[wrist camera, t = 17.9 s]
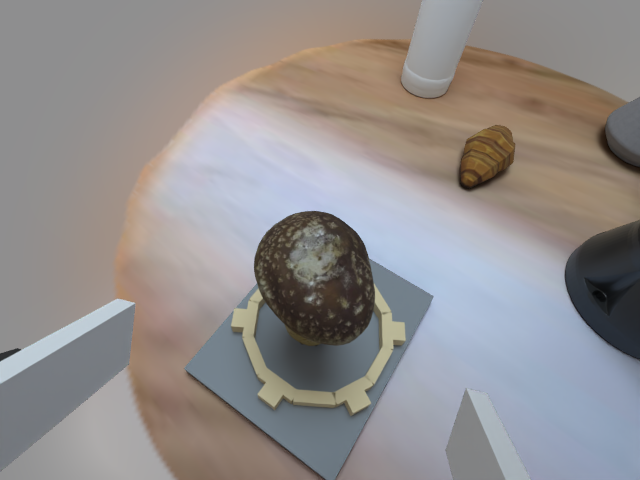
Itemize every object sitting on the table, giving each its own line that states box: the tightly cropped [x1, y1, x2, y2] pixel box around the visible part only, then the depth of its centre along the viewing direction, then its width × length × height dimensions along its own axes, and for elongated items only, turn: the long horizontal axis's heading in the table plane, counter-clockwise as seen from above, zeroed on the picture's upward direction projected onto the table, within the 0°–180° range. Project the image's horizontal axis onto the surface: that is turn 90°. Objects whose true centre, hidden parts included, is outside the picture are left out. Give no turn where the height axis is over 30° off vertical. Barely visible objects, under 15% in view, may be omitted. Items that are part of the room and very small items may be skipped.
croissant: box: [460, 125, 515, 188], centre depth 52 cm, size 14×7×5 cm, turn 144°
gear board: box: [184, 259, 434, 480], centre depth 37 cm, size 20×16×3 cm
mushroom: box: [254, 211, 375, 346], centre depth 31 cm, size 9×9×15 cm
